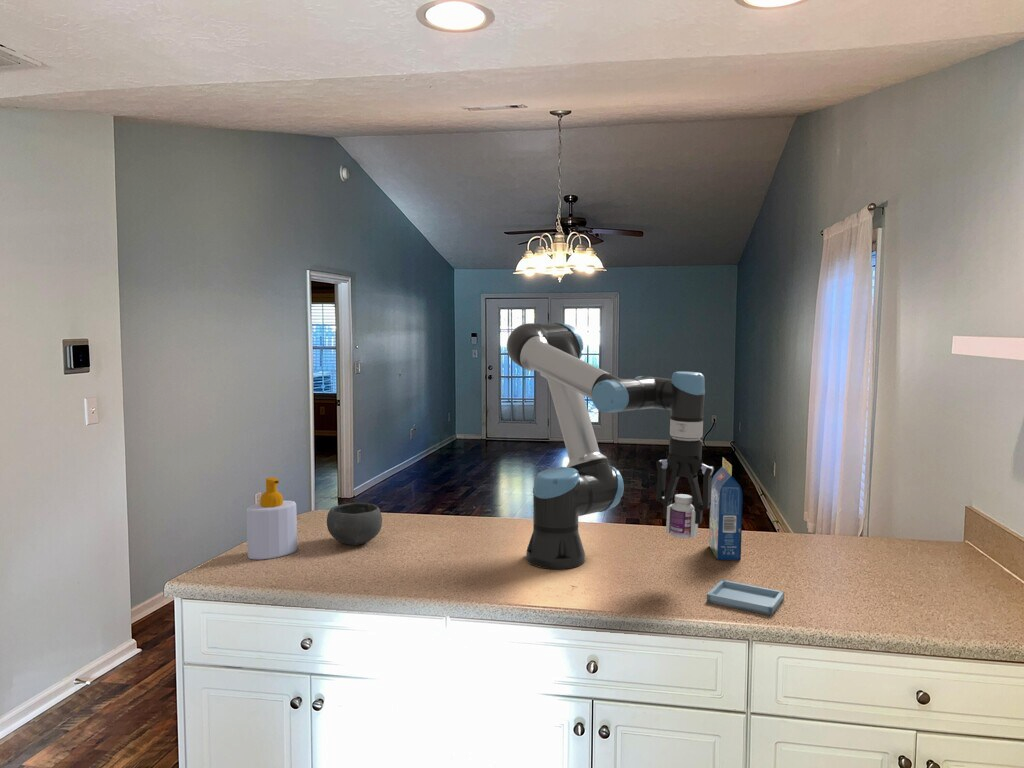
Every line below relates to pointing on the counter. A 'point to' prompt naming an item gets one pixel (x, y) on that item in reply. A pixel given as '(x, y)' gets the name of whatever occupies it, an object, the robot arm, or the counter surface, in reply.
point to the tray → (746, 597)
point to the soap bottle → (271, 525)
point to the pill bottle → (681, 516)
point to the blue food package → (725, 515)
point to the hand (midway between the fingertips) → (681, 533)
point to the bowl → (354, 522)
